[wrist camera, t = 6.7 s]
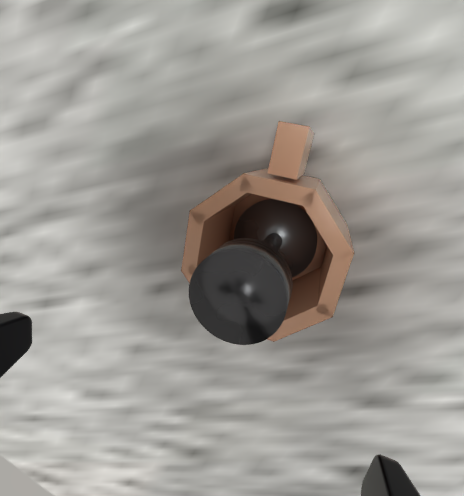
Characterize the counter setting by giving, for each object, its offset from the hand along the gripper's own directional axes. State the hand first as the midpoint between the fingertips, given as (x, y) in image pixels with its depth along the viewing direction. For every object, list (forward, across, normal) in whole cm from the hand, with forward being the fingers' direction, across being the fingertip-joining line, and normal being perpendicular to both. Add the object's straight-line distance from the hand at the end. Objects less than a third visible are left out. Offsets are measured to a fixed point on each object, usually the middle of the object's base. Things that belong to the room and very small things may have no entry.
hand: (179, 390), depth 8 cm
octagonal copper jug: (+12, 0, -2) cm, 13 cm away
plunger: (+11, 0, -1) cm, 11 cm away
